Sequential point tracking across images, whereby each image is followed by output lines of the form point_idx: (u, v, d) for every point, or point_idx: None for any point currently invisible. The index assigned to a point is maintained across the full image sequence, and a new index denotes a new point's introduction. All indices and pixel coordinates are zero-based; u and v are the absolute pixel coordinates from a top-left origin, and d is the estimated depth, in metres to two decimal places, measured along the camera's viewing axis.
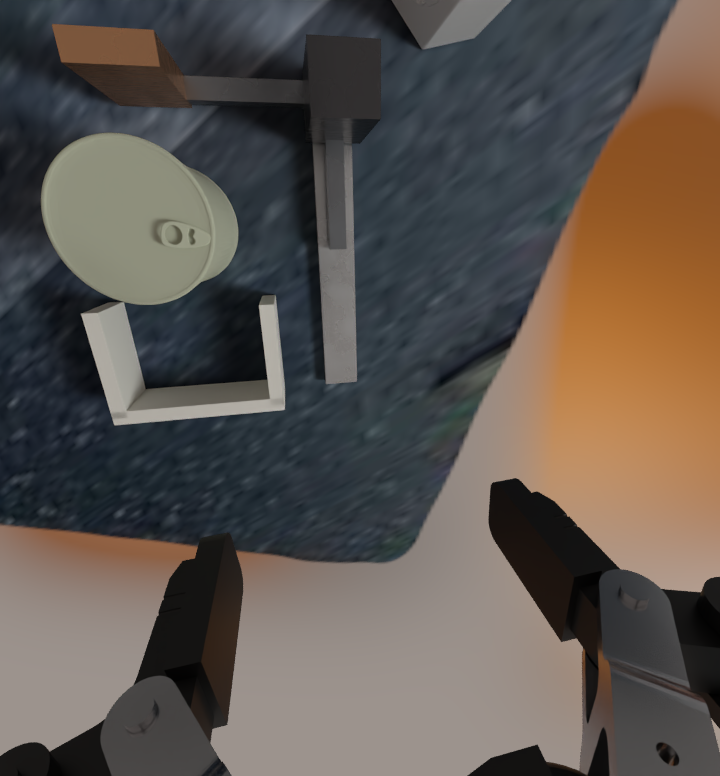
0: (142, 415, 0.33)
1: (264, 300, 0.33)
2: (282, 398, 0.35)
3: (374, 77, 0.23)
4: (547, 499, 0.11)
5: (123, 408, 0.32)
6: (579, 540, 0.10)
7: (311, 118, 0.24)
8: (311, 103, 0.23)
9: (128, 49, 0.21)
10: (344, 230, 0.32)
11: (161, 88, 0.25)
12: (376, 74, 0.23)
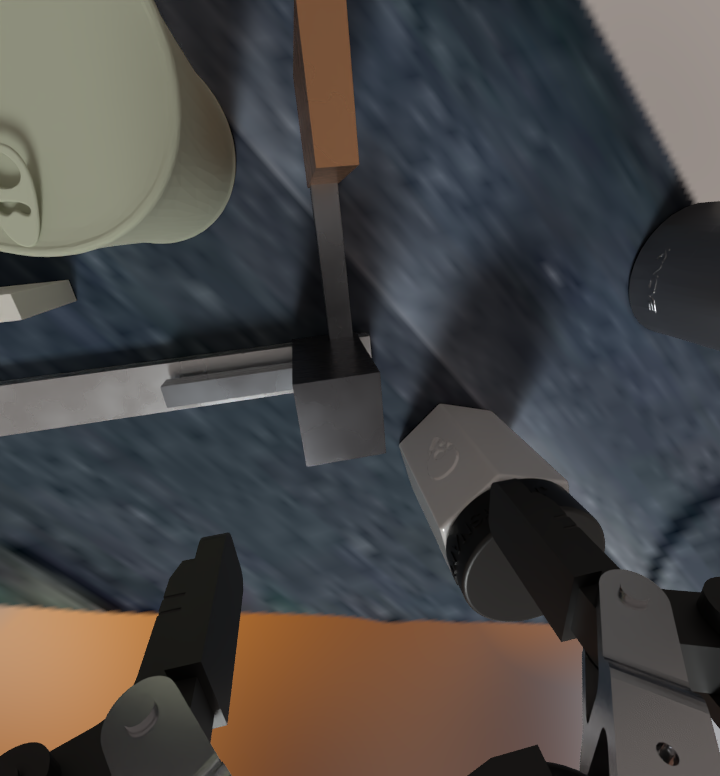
0: None
1: (41, 293, 0.19)
2: None
3: (348, 452, 0.19)
4: (547, 499, 0.11)
5: None
6: (579, 540, 0.10)
7: (292, 383, 0.17)
8: (308, 384, 0.17)
9: (330, 119, 0.13)
10: (191, 402, 0.23)
11: (308, 154, 0.17)
12: (351, 454, 0.19)
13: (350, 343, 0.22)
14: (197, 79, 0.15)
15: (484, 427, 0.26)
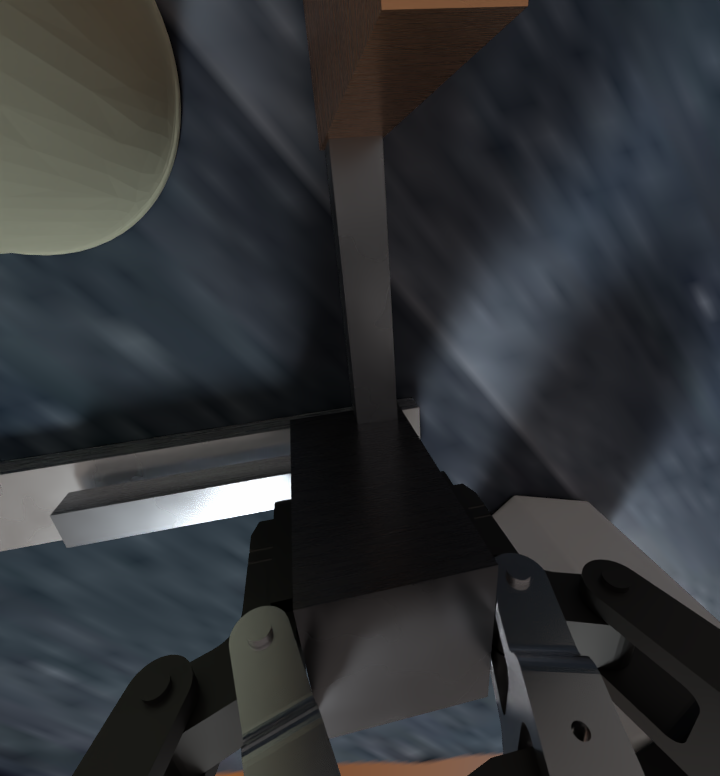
0: None
1: None
2: None
3: (412, 706, 0.09)
4: (469, 490, 0.12)
5: None
6: (488, 528, 0.10)
7: (294, 596, 0.07)
8: (332, 604, 0.07)
9: None
10: (112, 536, 0.13)
11: (331, 45, 0.07)
12: (419, 708, 0.09)
13: (398, 440, 0.12)
14: None
15: (599, 548, 0.16)
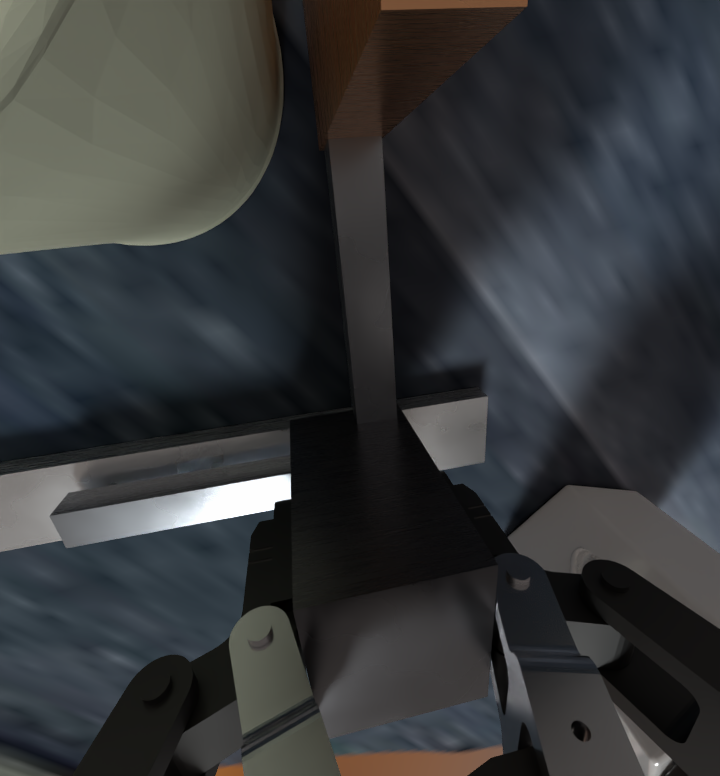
0: None
1: None
2: None
3: (412, 706, 0.09)
4: (469, 490, 0.12)
5: None
6: (488, 528, 0.10)
7: (294, 596, 0.07)
8: (332, 604, 0.07)
9: None
10: (111, 536, 0.13)
11: (330, 46, 0.07)
12: (418, 708, 0.09)
13: (398, 440, 0.12)
14: None
15: (658, 534, 0.17)
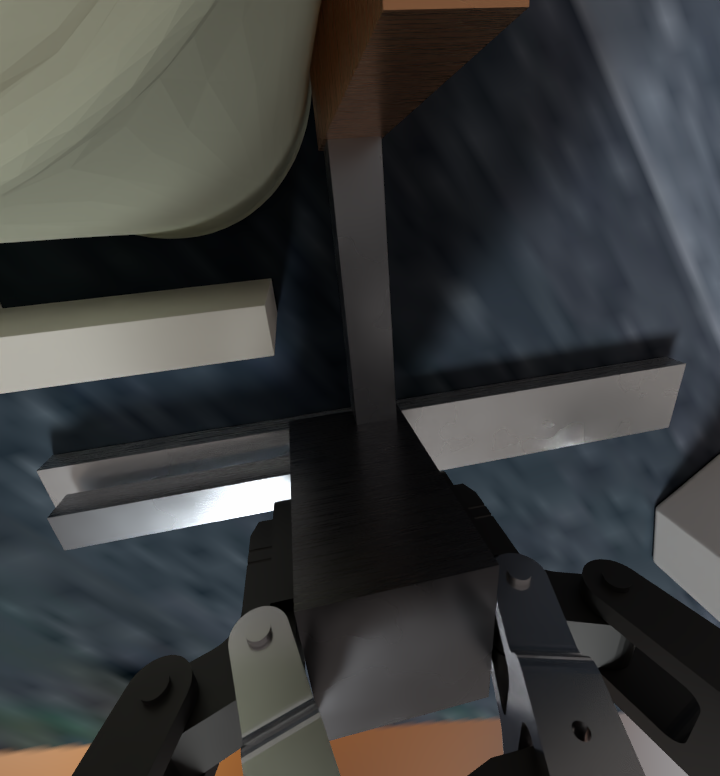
0: None
1: (270, 303, 0.11)
2: None
3: (413, 707, 0.09)
4: (470, 491, 0.12)
5: None
6: (488, 528, 0.10)
7: (295, 597, 0.07)
8: (333, 605, 0.07)
9: None
10: (110, 538, 0.13)
11: (330, 46, 0.07)
12: (420, 708, 0.09)
13: (397, 440, 0.12)
14: None
15: None
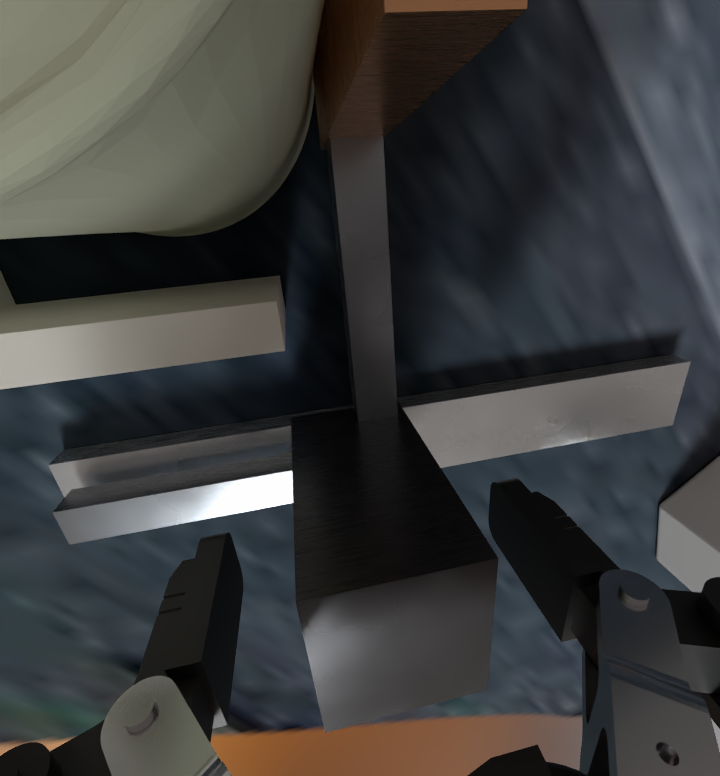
0: None
1: (280, 299, 0.11)
2: None
3: (413, 699, 0.09)
4: (547, 499, 0.11)
5: None
6: (578, 540, 0.10)
7: (296, 588, 0.07)
8: (334, 596, 0.07)
9: None
10: (114, 532, 0.13)
11: (333, 46, 0.07)
12: (419, 700, 0.09)
13: (398, 436, 0.12)
14: None
15: None
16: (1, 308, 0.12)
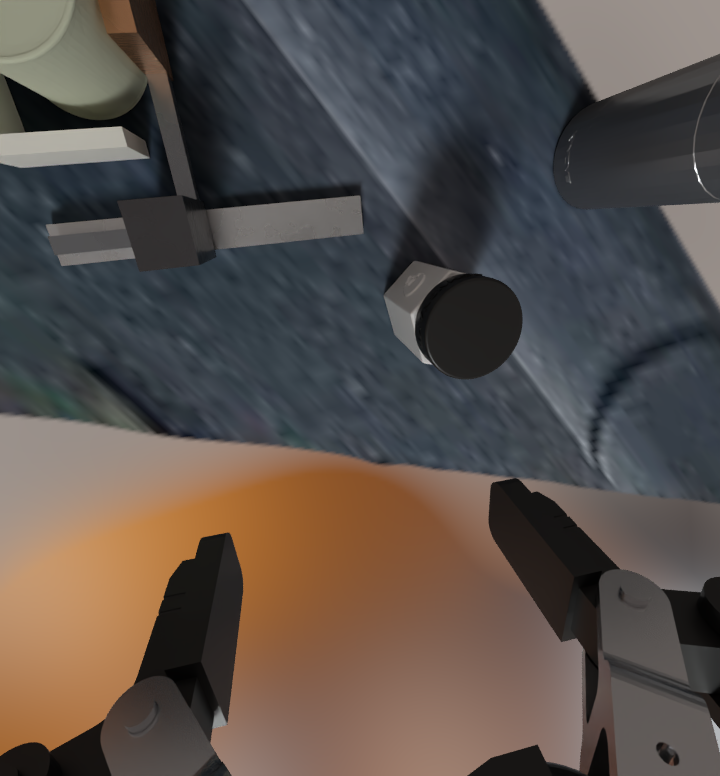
0: None
1: (134, 138, 0.28)
2: None
3: (170, 262, 0.26)
4: (547, 499, 0.11)
5: None
6: (578, 540, 0.10)
7: None
8: (129, 201, 0.25)
9: None
10: (74, 251, 0.31)
11: None
12: (173, 263, 0.26)
13: None
14: None
15: None
16: None
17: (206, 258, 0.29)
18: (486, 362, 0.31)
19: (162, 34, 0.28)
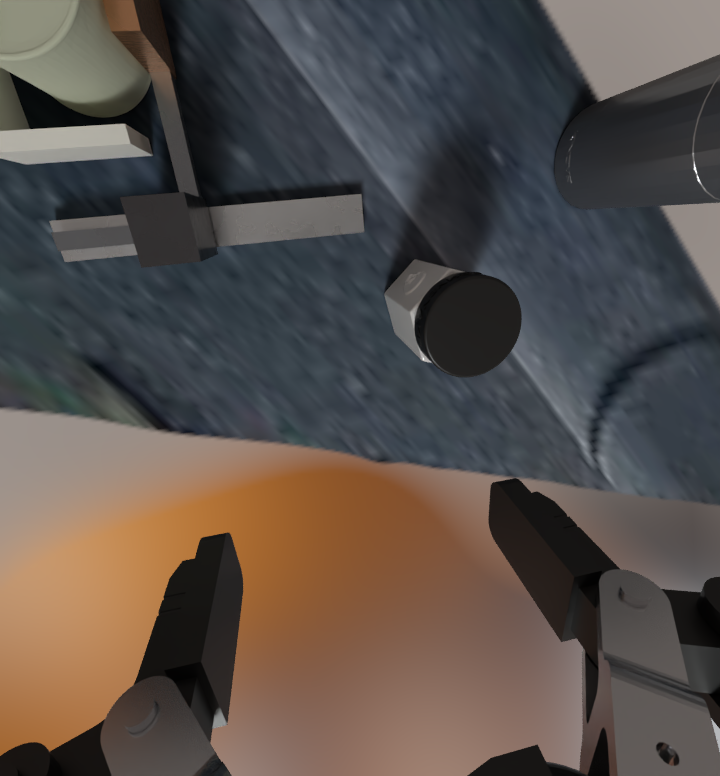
0: None
1: (137, 136, 0.29)
2: None
3: (171, 258, 0.27)
4: (547, 499, 0.11)
5: None
6: (578, 540, 0.10)
7: None
8: (131, 197, 0.25)
9: None
10: (77, 247, 0.31)
11: None
12: (174, 260, 0.27)
13: None
14: None
15: None
16: None
17: (207, 255, 0.30)
18: (485, 360, 0.31)
19: (166, 33, 0.28)
